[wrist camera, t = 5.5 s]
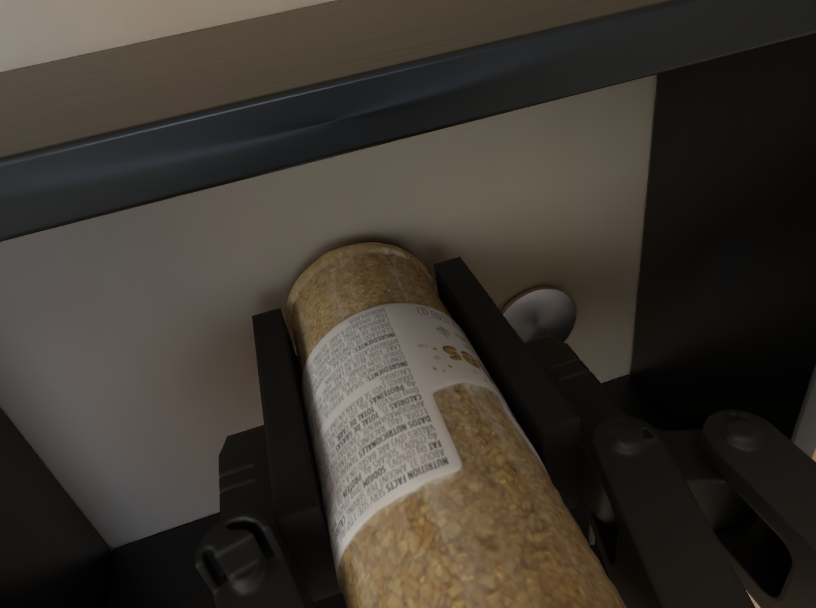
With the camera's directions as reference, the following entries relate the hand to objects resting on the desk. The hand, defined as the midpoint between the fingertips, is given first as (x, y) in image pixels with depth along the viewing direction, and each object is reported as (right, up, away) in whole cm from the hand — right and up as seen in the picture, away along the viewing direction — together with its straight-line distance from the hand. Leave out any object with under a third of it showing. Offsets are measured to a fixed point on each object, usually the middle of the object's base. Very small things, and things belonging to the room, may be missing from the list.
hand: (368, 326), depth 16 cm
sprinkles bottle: (0, +1, +1) cm, 1 cm away
